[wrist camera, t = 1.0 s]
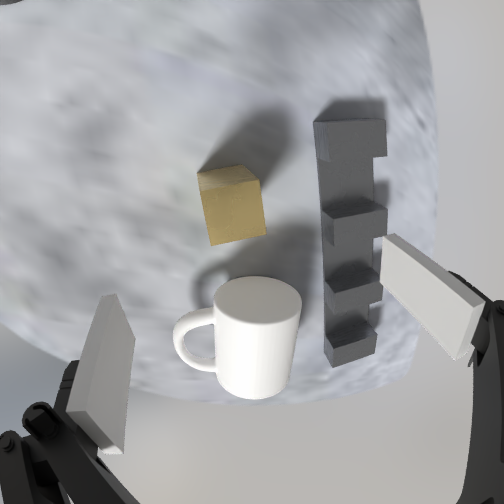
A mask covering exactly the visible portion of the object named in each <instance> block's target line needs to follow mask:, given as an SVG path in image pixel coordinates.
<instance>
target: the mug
mask: <svg viewBox="0 0 504 504" xmlns="http://www.w3.org/2000/svg"><path fill="white" fill-rule="evenodd" d="M301 308H302V299H301V297H300V295H299V293H298V292H297V291H296V290H295V289H294V288H293V287H292V286H290V285H289V284H287V283H285V282H283V281H280V280H277V279H273V278H269V277H261V276H248V277H241V278H236V279H233V280H230V281H228V282H226V283H224V284H223V285H221V286H220V287H219V288H218V289H217V291H216V292H215V295H214V306H213V307H210V308H203V309H198V310H195V311H192V312H189V313H187V314H185V315H184V316H182V317H181V318H180V319H179V320H178V321H177V323H176V324H175V327H174V330H173V342H174V346H175V349H176V351H177V353H178V355H179V356H180V357H181V358H182V359H183V360H184V361H185V362H186V363H187V364H188V365H190V366H192V367H194V368H196V369H199V370H203V371H209V372H216V375H217V379H218V381H219V383H220V384H221V385H222V387H223V388H224V389H226V390H227V391H228V392H230V393H231V394H233V395H235V396H238V397H241V398H246V399H263V398H268V397H271V396H273V395H275V394H277V393H279V392H280V391H281V390H282V389H283V388H284V387H285V386H286V385H287V383H288V381H289V378H290V373H291V367H292V362H293V356H294V350H295V345H296V339H297V333H298V327H299V320H300V314H301ZM207 324H214V330H215V357H214V358H202V357H197V356H194V355H192V354H191V353H190V352H189V351H188V350H187V349H186V347H185V344H184V335H185V333H186V332H187V331H189V330H191V329H193V328H195V327H198V326H202V325H207Z"/></svg>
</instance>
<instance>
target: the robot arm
mask: <svg viewBox="0 0 504 504" xmlns="http://www.w3.org/2000/svg"><path fill="white" fill-rule="evenodd" d="M19 1H22V0H0V5H7V4H12V3H16V2H19ZM380 283H381V284H382V285H383V286H384V287H385V288H386V289H387V290H388V291H389V292H390V293H391V294H392V295H393V296H394V297H395V298H396V299H397V300H398V301H399V302H400V303H401V304H402V305H403V306H404V307H405V308H406V309H407V310H408V311H409V312H410V313H411V314H412V316H413V317H414V318H415V319H416V320H417V321H418V322H419V323H420V324H421V325H422V326H423V327H424V328H425V329H426V330H427V331H428V332H429V333H430V334H431V335H432V337H433V338H434V339H435V340H436V341H437V342H438V343H439V344H440V345H441V346H442V347H443V349H444V350H445V351H446V352H447V353H448V354H449V355H450V356H451V357H452V359H454V361H455V360H457V359H459V358H460V357H462V356H464V355H466V354H467V352H468V349H469V347H470V344H471V343H472V345H474V347H475V349H474V351H473V354H472V356H471V359H470V361H469V363H468V367H470V365H471V363H472V362H473V373H474V374H473V377H474V378H473V386H474V387H473V413H472V428H471V438H470V448H469V455H468V462H467V469H466V476H465V480H464V486H463V490H462V494H461V496H460V498H459V500H458V502H457V503H456V504H504V301H503V300H496V301H494V302H493V301H491V300H490V299H489V298H488V297H486V296H485V295H484V294H483V293H481V292H480V291H479V290H478V289H476V288H475V287H472V285H471V284H470V283H469V282H466V280H465V279H464V278H462V277H461V276H460V275H458V274H456V273H453V272H451V271H446V270H445V269H444V268H442V267H441V266H440V265H438V264H437V263H436V262H434V261H433V260H432V259H430V258H429V257H428V256H426V255H425V254H423V253H422V252H421V251H419V250H418V249H416V248H415V247H414V246H412V245H411V244H409V243H408V242H407V241H405V240H404V239H402V238H401V237H399V236H398V235H396V234H395V233H394V234H390V235H386V236H383V244H382V259H381V272H380ZM134 346H135V336H134V334H133V332H132V330H131V328H130V325H129V323H128V321H127V319H126V316H125V314H124V312H123V309H122V307H121V305H120V302H119V300H118V297H117V295H116V294H112V295H107V296H102V297H101V299H100V302H99V305H98V307H97V310H96V313H95V316H94V319H93V321H92V324H91V327H90V330H89V333H88V336H87V339H86V342H85V345H84V348H83V351H82V355H81V358H80V360H75V361H71V363H70V364H69V365H68V367H67V368H66V369H65V371H64V374H63V378H62V382H61V384H60V390H59V391H58V394H57V397H56V402H55V405H54V408H53V409H52V407H51V406H50V405H49V404H48V403H46V402H36V403H34V404H32V405H31V406H30V407H29V408H27V410H26V411H25V413H24V414H23V418H22V424H23V427H24V428H25V429H26V430H27V431H28V432H29V433H30V434H31V435H29V436H26V437H23V438H21V437H20V436H19V435H18V434H17V433H16V432H15V431H12V430H10V431H6V432H4V433H3V434H1V436H0V485H1V491H2V497H3V501H4V504H71V503H70V500H69V498H68V495H69V497H70V498H71V500H72V501H73V503H74V504H140V503H139V502H138V501H137V500H136V499H135V498H134V497H133V496H132V495H131V494H130V493H129V491H128V490H127V489H126V488H125V487H124V486H123V485H122V484H121V483H120V481H118V479H117V478H116V477H115V476H114V475H113V473H112V472H111V471H110V470H109V469H108V467H107V466H106V465H105V464H104V462H103V461H102V460H101V459H100V458H99V457H98V456H97V451H98V447H99V448H100V449H101V450H102V451H103V452H104V453H105V454H124V439H125V438H124V437H125V424H126V413H127V401H128V392H129V384H130V375H131V367H132V360H133V353H134ZM67 494H68V495H67Z"/></svg>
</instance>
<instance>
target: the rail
mask: <svg viewBox="0 0 504 504" xmlns="http://www.w3.org/2000/svg"><path fill="white" fill-rule="evenodd" d="M313 128H314V137H315V147H316V157H317V169H318V181H319V194H320V209H321V226H322V246H323V274H324V353H325V355H326V357H327V359H328V360H329V362H330V364H331V366H332V368H334V367H337V366H340V365H343V364H346V363H349V362H352V361H355V360H357V359H360V358H363V357H366V356H369V355H371V354H374V353H375V347H376V340H377V333H376V332H375V331H374V329H373V328H372V327H371V326H370V324H369V323H368V322H367V321H368V311H369V304H372V303H375V302H378V301H381V300H382V293H383V285H382V284H381V283H380V275H379V274H378V273H377V272H375V271H374V270H373V269H372V253H373V238H378V237H382V236H386V235H387V218H388V209H387V208H385V207H383V206H381V205H380V204H378V203H376V202H374V201H373V161H372V158H373V157H384V156H387V138H386V122H385V120H380V119H369V118H367V119H346V120H330V121H317V122H313Z"/></svg>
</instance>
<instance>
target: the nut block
mask: <svg viewBox="0 0 504 504" xmlns="http://www.w3.org/2000/svg"><path fill="white" fill-rule="evenodd" d="M197 177H198V183H199V190H200V195H201V200H202V205H203V210H204V215H205V220H206V224H207V229H208V234H209V239H210V243H211V246H214V245H218V244H223V243H228V242H232V241H237V240H242V239H247V238H251V237H256V236H261V235H266V226H265V219H264V211H263V204H262V196H261V189H260V182H259V179H258V178H257V177H256V176H254V175H253V174H252V173H251V172H250V171H249V170H248V169H247V168H245V167H244V166H243V165H242V164H241V165H236V166H230V167H225V168H219V169H214V170H209V171H204V172H199V173H197Z"/></svg>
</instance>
